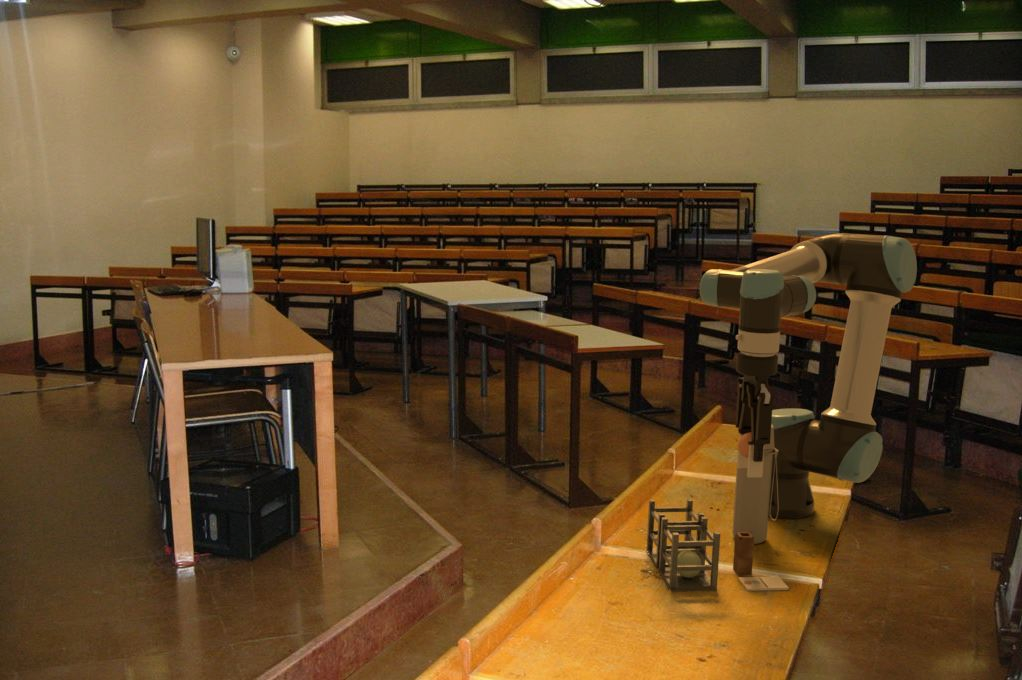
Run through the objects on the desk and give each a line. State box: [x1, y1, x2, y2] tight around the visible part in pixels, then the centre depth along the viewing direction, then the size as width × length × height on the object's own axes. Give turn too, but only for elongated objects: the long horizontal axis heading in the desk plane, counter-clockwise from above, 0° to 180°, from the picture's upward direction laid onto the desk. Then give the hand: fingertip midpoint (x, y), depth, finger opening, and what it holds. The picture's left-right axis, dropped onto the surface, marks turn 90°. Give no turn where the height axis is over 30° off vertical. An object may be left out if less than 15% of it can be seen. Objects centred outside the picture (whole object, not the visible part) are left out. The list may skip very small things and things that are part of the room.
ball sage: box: [677, 551, 702, 578], centre depth 185 cm, size 5×5×5 cm
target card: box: [737, 576, 790, 592], centre depth 185 cm, size 8×5×1 cm, turn 96°
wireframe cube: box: [646, 498, 705, 570], centre depth 194 cm, size 9×9×11 cm
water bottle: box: [731, 424, 779, 545], centre depth 205 cm, size 9×8×25 cm
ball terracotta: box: [737, 432, 765, 458], centre depth 186 cm, size 5×5×5 cm
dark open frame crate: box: [658, 516, 721, 592], centre depth 185 cm, size 9×9×11 cm
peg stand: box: [732, 532, 755, 576], centre depth 190 cm, size 3×3×8 cm
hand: (749, 471), depth 187 cm, fingers closed on ball terracotta, 5 cm apart
